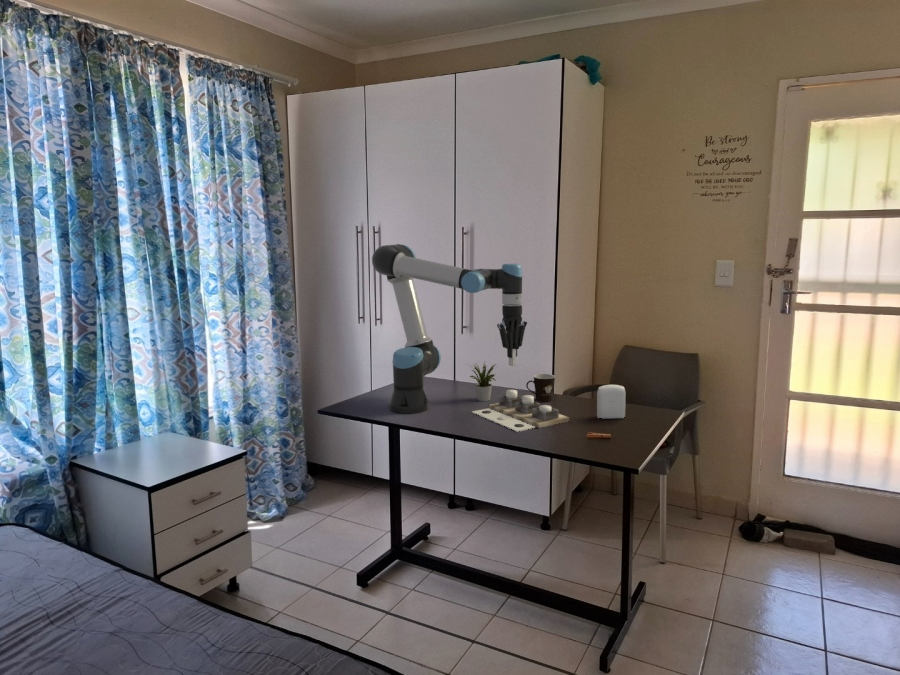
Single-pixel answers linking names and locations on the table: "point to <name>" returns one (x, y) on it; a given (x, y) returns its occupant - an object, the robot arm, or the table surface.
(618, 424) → the table surface
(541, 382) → the coffee mug
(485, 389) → the house plant
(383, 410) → the table surface
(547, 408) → the button
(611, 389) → the photo printer
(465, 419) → the table surface
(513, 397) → the button
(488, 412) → the pattern card
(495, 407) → the button board
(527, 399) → the button middle
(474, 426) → the table surface
